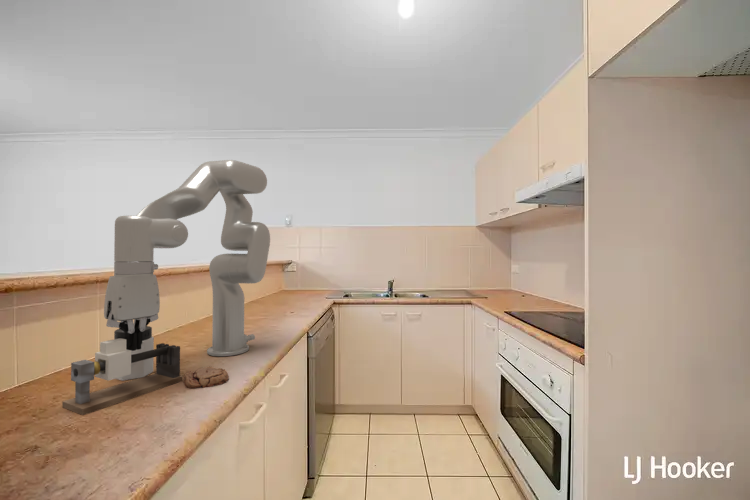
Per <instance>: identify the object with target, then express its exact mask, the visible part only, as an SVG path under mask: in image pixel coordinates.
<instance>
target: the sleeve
mask: <svg viewBox="0 0 750 500" xmlns="http://www.w3.org/2000/svg"><path fill="white" fill-rule="evenodd" d="M95 361H97V362H98V363H100V362H104V361H106V370H103V371H100V372H99V374H96V375H94V378H99V379H100V380H101V379H102V380H105V381H111V380H117V379H116V378H119V377H123V376H126V375H130V374H131V351H130V350H126V339H122V338H119V339H114V338H113V339H110V340H104V341H100V342H99V351H96V352H95V353H94V362H95Z"/></svg>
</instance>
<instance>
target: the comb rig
mask: <svg viewBox="0 0 750 500" xmlns="http://www.w3.org/2000/svg"><path fill="white" fill-rule="evenodd" d="M155 346H156V347H155V348H154V350H150V351H146V352H142V353H137V354H133V355H131V363H134V362H138V361H141V360H145V359H149V358H153V357H154V358H155V373H151V374H148V375H147V376H145V377H142V378H137V379H131V380H127V381H125V382H122V383H119V384H116V385H112V386H109V387H106V388H103V389H100V390H99V389H98V390H96V391H92V392H91V391H90V390H91V388H90V387H91V385H90V381H93V380H95V375H96V374H99V372H100V371H103V370H106V361H104V362H100V363H98V362H97V361H95V360H94V361H92V360H87V359H82V360H78V361H73V362H70V363H71V364H70V367H71V369H70V373H71V374H70V381H71V382H75V383H74V384H75V385H74V386H75V391H74V394H75V396H74V397H72V398H69V399H65V400H62V405H61V407H62V408H63V409H66V410H68V411H71V412H74V413H76V414H78V415H82V416H85V415H87V414H90V413H94V412H96V411H99V410H102V409H105V408H107V407H111V406H113V405H117V404H119V403H122V402H125V401H128V400H131V399H134V398H137V397H140V396H143V395H146V394H149V393H152V392H155V391H157V390H160V389H163V388H165V387H166V388H167V387H168V386H171V385H174V384H177V383H180V382H184V380H183V379H184V376H183V375H181V346H179V345H174V344H173V345H169V343H164V342H162V343H158V344H157V343H156V345H155Z"/></svg>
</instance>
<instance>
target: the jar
mask: <svg viewBox="0 0 750 500" xmlns="http://www.w3.org/2000/svg"><path fill="white" fill-rule="evenodd" d="M119 338H122V339H125V332H122V330H121V329H119V328H118V329H116V330H114V338H113V340H114V339H119ZM154 338H155V337H154V336H153V327H152V326H148V325H147V326H146V327H145V330H144V331H142V344H141V349H139V350H137V349H136V350H135V351H132V350H130V351H131V355H133V354H137V353H142V352H146V351H150V350H154V349H155V348H154V347H155V346H154V345H155V340H154ZM126 350H127V349H126ZM154 358H155V357H153V358H149V359H145V360H141V361H138V362H134V363H131V374H130V375H126V376H123V377H119V378H116V379H115V380H119V381H122V382H124V381H125V382H126V381H132V380H135V379H138V378H142V377H145V376H148V375H151V374H153V372H154V363H155V362H154Z"/></svg>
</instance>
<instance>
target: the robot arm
mask: <svg viewBox="0 0 750 500" xmlns="http://www.w3.org/2000/svg"><path fill="white" fill-rule="evenodd" d="M267 186H268V179H267V175H266V173H265V172H264V171H263V170H262V169H261V168H260V167H258V166H254V165H252V164H249V163H245V162H242V161H239V160H233V159H224V160H211V161H204V162H202V164H200V165H198V167H197V168H196V169H195V170H194V171H193V172H192V173H191V174H190V175H189V177H188V178H186V179H185V181H183V183H182V184H181V185H180V186H179V187H178V188H177V189H174V190H172V191H170V192H168V193H167V194H165V195H163V196H161V197H159V198H157V199H155V200H154V201H151V202H150V203H149V204H147V205H146V206H144V207H143V208H142V209H141V210H140V211H139V212H138V213H137V214H136V215H120V216H118V217H116V218H115V221H114V243H113V244H114V251H113V252H114V254H113V255H114V256H113V257H114V259H113V263H114V264H113V269H114V271H113V276H109V278H108V282H107V286H106V289H105V297H104V305H103V307H104V308H103V318H104V319H106V320H107V321H106V327H108V328H118V329H121V330H122V332H125V339H126V349H127V350H132V351H135V350H136V349H137V350H139V349H141V344H142V331H144V330H145V327H146V326H148V325H149V324H150V323H153V322H155V321H157V320H158V319H159V312H160V306H161V305H160V303H161V302H160V301H161V300H160V289H159V283H158V277H157V276H156V274H154V273H155V270H158V269H159V264H157V263H155V261H154V252H155V251H154V249H175V248H178V247H181V246H182V245H184V244H185V243H186V242H187V240H188V238H189V231H188V228H187V225H185V223H183V222H182V221H181V220H179V219H181V218H185V217H189V216H192V215H195V214H197V213H200V212H203V211H204V210H205V209H206V208H208V206H209V204H210V203H211V201H213V199H214V198H215V197H217V196H216V195H217V194H218V193H220V195H221V196H222V198H223V200H224V203H225V213H224V214H225V215H224V220H223V225H222V231H221V235H220V244H221V246H222V248H223V249H225V250H228V251H234V252H238V251H239V252H247V253H221V254H218V255H216V256H214V257H213V258H212V259H211V260H210V263H209V266H208V267H209V268H208V269H209V270H208V271H209V277H210V281H211V288H212V334H211V335H212V339H211V340H212V341H211V342H212V346H210V347H208V348H207V350H206V354H207V355H209V356H213V357H230V356H237V355H241V354H244V353H246V352H248V351H249V350H250V345H249V344H247V343H248V342H249V341H250V342H251V341H252V340H255V338H256V335H255V334H254V333H251V334H248V335H247V334H245V294H244V291H243V289H242V287H241V285H240V284H246V285H247V284H257V283H259V282H261V281H262V280H263V279H264V276H265V274H266V271H267V270H266V269H267V264H268V263H267V262H268V258H269V252H270V245H271V234H270V230H269V228H268V226H267V225H266V224H265V223H263V222H261V221H252V220H253V213H254V211H253V208H252V205H251V203H250V202H249V201H248V199H247V197H246V196H245V195H255V194H256V195H258V194H260V193H263V192H264V191H265V190H266V188H267Z"/></svg>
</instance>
